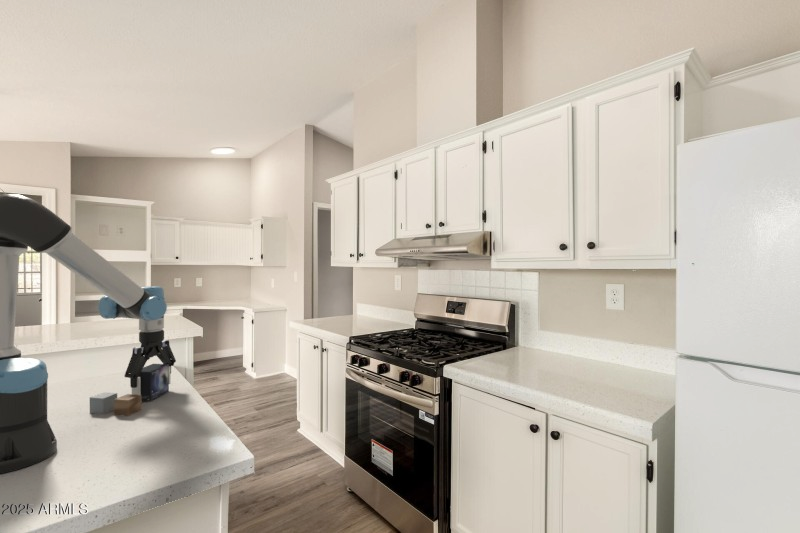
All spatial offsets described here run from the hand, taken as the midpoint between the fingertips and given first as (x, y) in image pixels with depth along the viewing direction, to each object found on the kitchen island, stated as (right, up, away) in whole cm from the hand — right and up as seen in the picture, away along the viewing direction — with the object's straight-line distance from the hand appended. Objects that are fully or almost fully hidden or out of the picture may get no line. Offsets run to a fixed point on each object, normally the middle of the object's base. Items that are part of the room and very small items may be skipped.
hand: (152, 389), depth 138 cm
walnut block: (+2, -3, -14) cm, 15 cm away
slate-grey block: (-7, -3, -13) cm, 15 cm away
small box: (0, -3, 0) cm, 3 cm away
